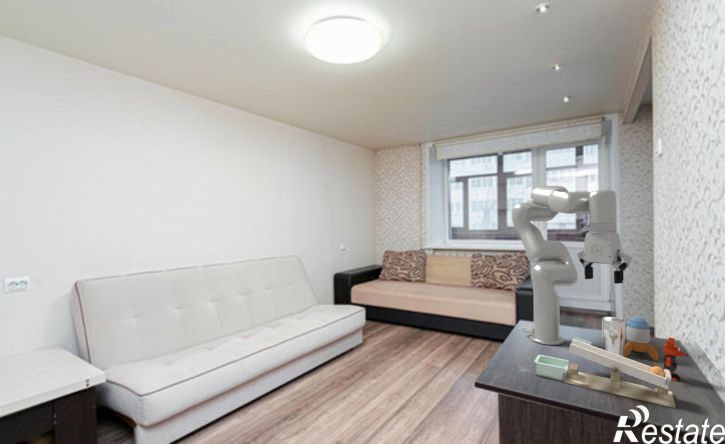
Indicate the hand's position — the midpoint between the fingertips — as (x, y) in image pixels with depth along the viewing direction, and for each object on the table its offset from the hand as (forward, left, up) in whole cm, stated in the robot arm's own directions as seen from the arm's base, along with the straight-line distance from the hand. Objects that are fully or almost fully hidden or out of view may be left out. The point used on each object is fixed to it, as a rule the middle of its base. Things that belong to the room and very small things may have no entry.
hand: (603, 281), depth 117 cm
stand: (+3, -11, -30) cm, 32 cm away
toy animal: (+18, +7, -30) cm, 36 cm away
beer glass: (+2, +12, -30) cm, 32 cm away
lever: (+3, -7, -25) cm, 26 cm away
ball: (+13, -11, -23) cm, 29 cm away
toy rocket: (+10, +23, -30) cm, 39 cm away
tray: (-14, -11, -30) cm, 35 cm away
